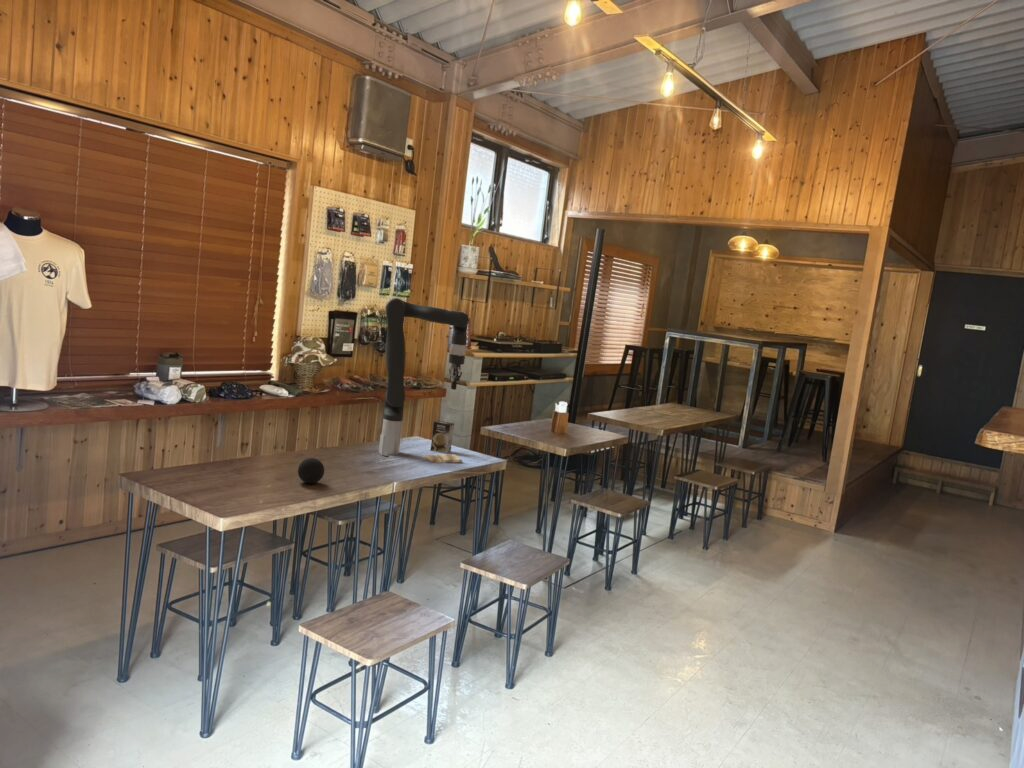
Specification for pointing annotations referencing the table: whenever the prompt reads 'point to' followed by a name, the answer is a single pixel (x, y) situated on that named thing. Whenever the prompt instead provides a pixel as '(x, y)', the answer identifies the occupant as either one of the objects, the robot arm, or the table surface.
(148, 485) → the table surface
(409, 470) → the table surface
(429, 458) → the plank
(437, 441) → the coffee box
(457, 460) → the loose plank
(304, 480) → the speaker
